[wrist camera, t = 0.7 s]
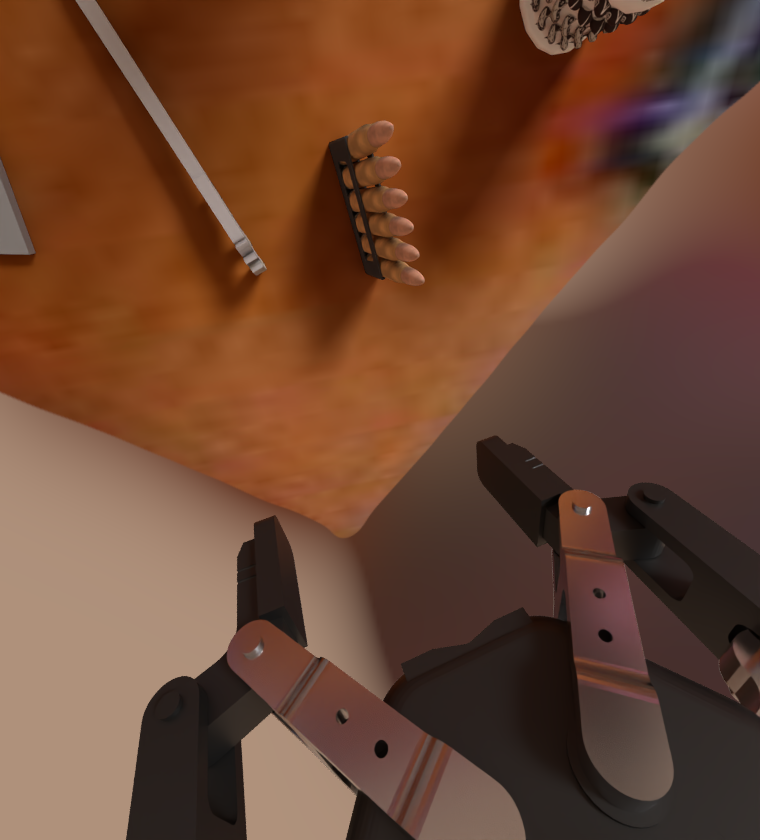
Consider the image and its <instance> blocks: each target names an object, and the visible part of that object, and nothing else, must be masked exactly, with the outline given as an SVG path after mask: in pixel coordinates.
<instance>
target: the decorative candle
mask: <svg viewBox="0 0 760 840" xmlns="http://www.w3.org/2000/svg"><path fill="white" fill-rule="evenodd" d="M663 1H664V0H520V1H519V6H520V11H521V15H522V19H523V23H524V27H525V31H526V33H527V34H528V36H529V37H530V39H531V40H532V42H533V43H534V45H535V46H536V48H538V49H540V50H542V51H544V52H546V53H548V54H550V55H556V54H561V53H567V52H569V51H571V50H572V49H573V48H574V47H575V48H576V49H578V48H580V47H581V45H582V41H583V40H584V39H585V38H586V37H588V40H589V42H594V41H595V40H596V38H597V34H598V33H600V32H601V31H603V33H607V32H608V33H611V32H613V31H615V30H616V29H617V27H618V25H619V23H620V24H625V25H628V24H631V23H632V22H634V21H635V19H636V18H637V15H639V16H642V15H644V14H646V13H647V12H648V11H649V10H650V9H651V7H653V6H655V5H657V4H660V3H662V2H663Z"/></svg>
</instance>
